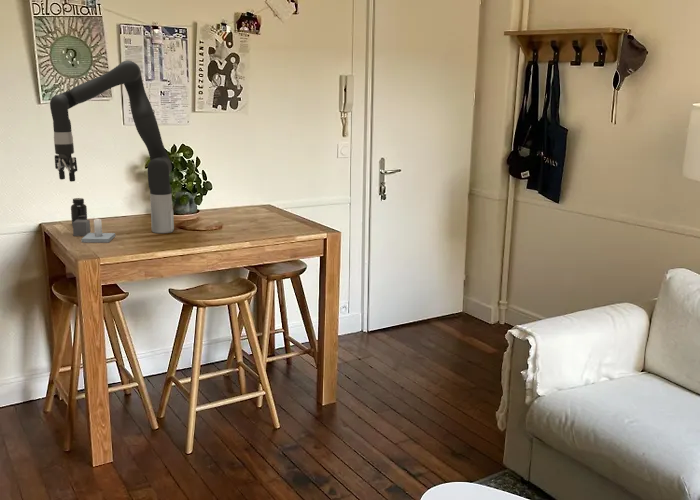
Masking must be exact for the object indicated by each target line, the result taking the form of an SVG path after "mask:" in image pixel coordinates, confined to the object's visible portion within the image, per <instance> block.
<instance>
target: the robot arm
mask: <svg viewBox="0 0 700 500" xmlns="http://www.w3.org/2000/svg"><path fill="white" fill-rule="evenodd" d="M121 85H124V88H125V90H126V92H127V95H128V99H129V106H130V111H131V115H132V120H133V123H134V126H135V129H136V130H137V133H138V135H139V136H140V139H141V140H142V141H143V143H144V145H145V147H146V148H147V149H146V150H147V151H148V155H149V156H148V157H149V162H148V164H147V182H148V189H149V194H150V195H149V198H150V216H151V217H150V219H151V220H150V221H151V232H153V233H155V234H168V233H173V231H174V230H175V223H174V222H175V220H174V219H175V218H174V209H173V198H172V195H173V194H172V186H171V183H170V175H171V172H172V170H173V166H172V161H171V160H170V158H169V155H168V152H167V150H166V148H165V146H164V143H163V139H162V136H161V132H160V129H159V125H158V121H157V118H156V115H155V113H154V109H153V107H152V104H151V102H150V99H149V97H148V95H147V93H146V91H145V90H146V89H145V86H144V83H143V76H142V71H141V68H140V66H139V65H138V64H137V63H136V62H134V61H132V60H124V61H122V62H120V63H119V64H118V65H116V66H115V67H114V68H112V69H111V70H109V71H107V72H105V73H104V74H101V75H99V76H97V77H95V78H92V79H89V80H87V81H85V82H82V83H79V85H76V86H74V87H72V88H71V89H69V90H67V91H64V92H62V93H58V94H55V95H54V96H52V97H51V99H50V102H49V107H50V113H51V117H52V124H53V125H52V126H53V127H52V128H53V144H54V153H55V155H54V166H55V169H56V170H57V171H58V177H59V180H61V181H62V180H66V173H65V169H67V171H68V179H69V182H70V183H71V182H76V175H75V173H76V172H78V165H77V158H76V157H72V154H74V153H75V149H74V137H73V136H74V135H73V132H72V123H71V119H70V117H69V109H71V108H73V107H75V106H77V105H79V104H83V103H85V102H87V101H89V100H92V99H94V98H96V97H98V96H99V95H101V94H103V93H105V92H106V91H108V90H110V89H112V88H115V87H117V86H121Z"/></svg>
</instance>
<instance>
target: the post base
mask: <svg viewBox="0 0 700 500" xmlns="http://www.w3.org/2000/svg"><path fill="white" fill-rule="evenodd" d="M102 226H103V225H102V219H101V218H96V219H93V228H94V229H93V230H94V232H90V233H88V234H87V235H86V236H82V238H81V241H80V242H81V243H96V244H97V243H98V244H99V243H103V244H105V243H110V242H111V241H112V240H113V239H114V238H115V237H116V233H115V232H103V227H102Z"/></svg>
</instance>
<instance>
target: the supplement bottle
mask: <svg viewBox="0 0 700 500" xmlns="http://www.w3.org/2000/svg"><path fill="white" fill-rule="evenodd" d="M87 209H88V208H87V204H85V199H84V198H83V197H76V198H72V205H71V206H70V214H71V215H70V216H71V225H72V226H73V223H72V222H74V221H75V220H88V210H87Z"/></svg>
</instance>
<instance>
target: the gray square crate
mask: <svg viewBox="0 0 700 500" xmlns="http://www.w3.org/2000/svg"><path fill="white" fill-rule="evenodd" d="M72 223H73V225H72V233H73V234H72V235H73V237H84V236H86V235H87V234H88V233H91V222H90V219H87V220H75V221H74V222H72V221H71V224H72Z"/></svg>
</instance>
